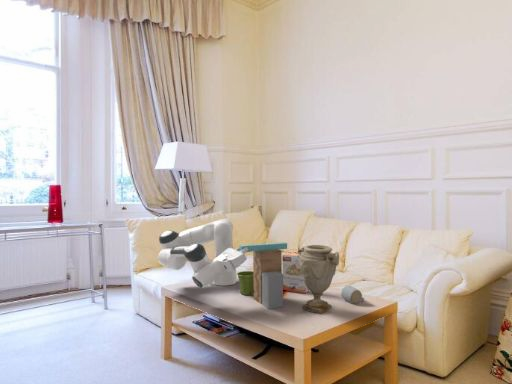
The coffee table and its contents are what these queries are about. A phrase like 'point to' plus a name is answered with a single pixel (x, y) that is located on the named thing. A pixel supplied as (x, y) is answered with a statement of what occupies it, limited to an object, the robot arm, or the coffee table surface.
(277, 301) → the grey block
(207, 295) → the coffee table surface
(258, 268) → the walnut tower
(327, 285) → the urn
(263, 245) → the teal bar
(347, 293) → the ceramic mug
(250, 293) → the plant pot
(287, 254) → the cracker box
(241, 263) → the robot arm
